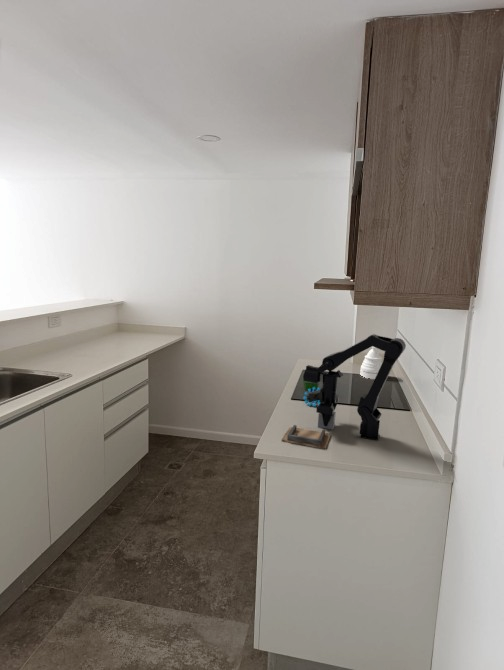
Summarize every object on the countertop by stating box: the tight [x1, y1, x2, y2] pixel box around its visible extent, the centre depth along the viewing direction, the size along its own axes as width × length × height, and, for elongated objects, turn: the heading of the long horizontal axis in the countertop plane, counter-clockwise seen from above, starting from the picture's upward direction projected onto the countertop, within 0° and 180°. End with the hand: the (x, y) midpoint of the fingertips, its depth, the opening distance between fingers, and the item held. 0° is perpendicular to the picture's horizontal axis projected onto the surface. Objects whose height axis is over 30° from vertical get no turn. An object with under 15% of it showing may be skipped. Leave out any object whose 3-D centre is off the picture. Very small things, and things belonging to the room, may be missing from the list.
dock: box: [281, 424, 332, 450], centre depth 157 cm, size 16×13×2 cm
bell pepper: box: [302, 379, 320, 391], centre depth 216 cm, size 8×8×10 cm
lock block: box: [317, 411, 337, 430], centre depth 169 cm, size 6×5×6 cm
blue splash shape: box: [302, 386, 322, 408], centre depth 195 cm, size 11×6×10 cm
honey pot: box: [359, 346, 383, 380], centre depth 247 cm, size 13×13×18 cm
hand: (326, 423), depth 169 cm, fingers closed on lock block, 5 cm apart
